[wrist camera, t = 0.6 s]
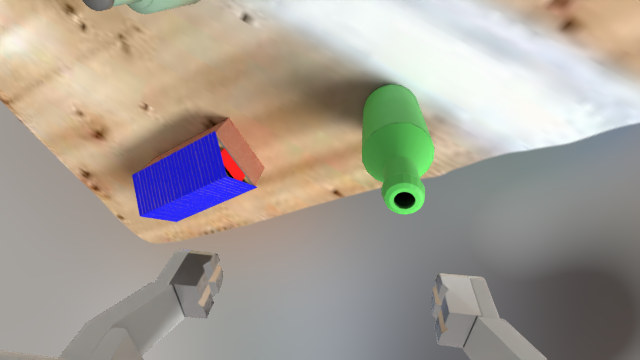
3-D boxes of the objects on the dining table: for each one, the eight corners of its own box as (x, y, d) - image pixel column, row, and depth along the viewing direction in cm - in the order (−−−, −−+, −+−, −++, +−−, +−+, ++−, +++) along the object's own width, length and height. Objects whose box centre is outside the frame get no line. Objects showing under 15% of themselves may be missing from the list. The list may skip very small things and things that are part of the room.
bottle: (352, 108, 54) (342, 197, 34) (393, 70, 50) (411, 144, 29) (387, 143, 57) (398, 245, 36) (429, 110, 53) (469, 203, 32)
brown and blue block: (152, 157, 65) (114, 190, 55) (229, 114, 58) (202, 144, 48) (191, 201, 70) (163, 239, 60) (267, 167, 63) (248, 204, 53)
